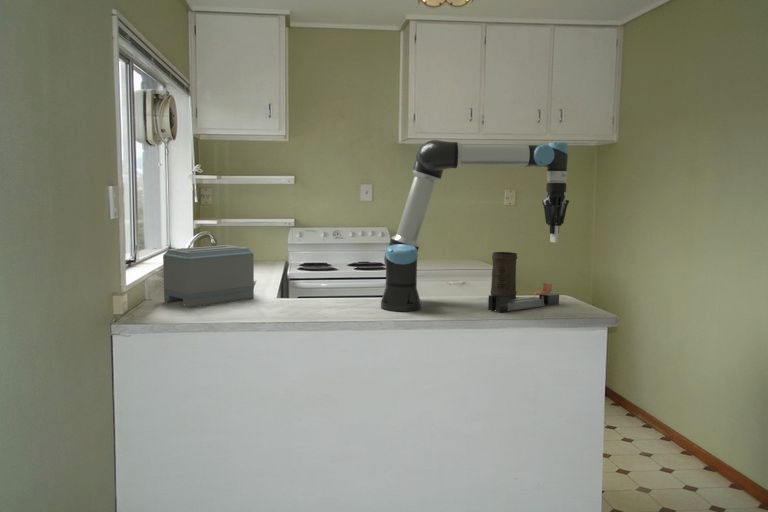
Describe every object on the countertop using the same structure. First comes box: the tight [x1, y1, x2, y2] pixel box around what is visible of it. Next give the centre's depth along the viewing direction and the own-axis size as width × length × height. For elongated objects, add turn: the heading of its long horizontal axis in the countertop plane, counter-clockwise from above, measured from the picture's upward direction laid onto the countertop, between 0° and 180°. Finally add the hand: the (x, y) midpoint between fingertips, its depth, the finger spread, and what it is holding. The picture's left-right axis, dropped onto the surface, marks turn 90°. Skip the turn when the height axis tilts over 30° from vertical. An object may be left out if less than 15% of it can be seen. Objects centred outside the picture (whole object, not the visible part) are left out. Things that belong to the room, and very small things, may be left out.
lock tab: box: [530, 282, 553, 296], centre depth 246 cm, size 8×3×4 cm, turn 122°
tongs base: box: [487, 292, 560, 312], centre depth 243 cm, size 32×5×6 cm, turn 122°
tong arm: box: [495, 296, 545, 313], centre depth 238 cm, size 23×2×5 cm, turn 124°
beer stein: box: [490, 251, 518, 300], centre depth 257 cm, size 15×11×20 cm
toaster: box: [162, 244, 255, 309], centre depth 249 cm, size 19×33×20 cm, turn 138°
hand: (553, 242), depth 251 cm, fingers closed
